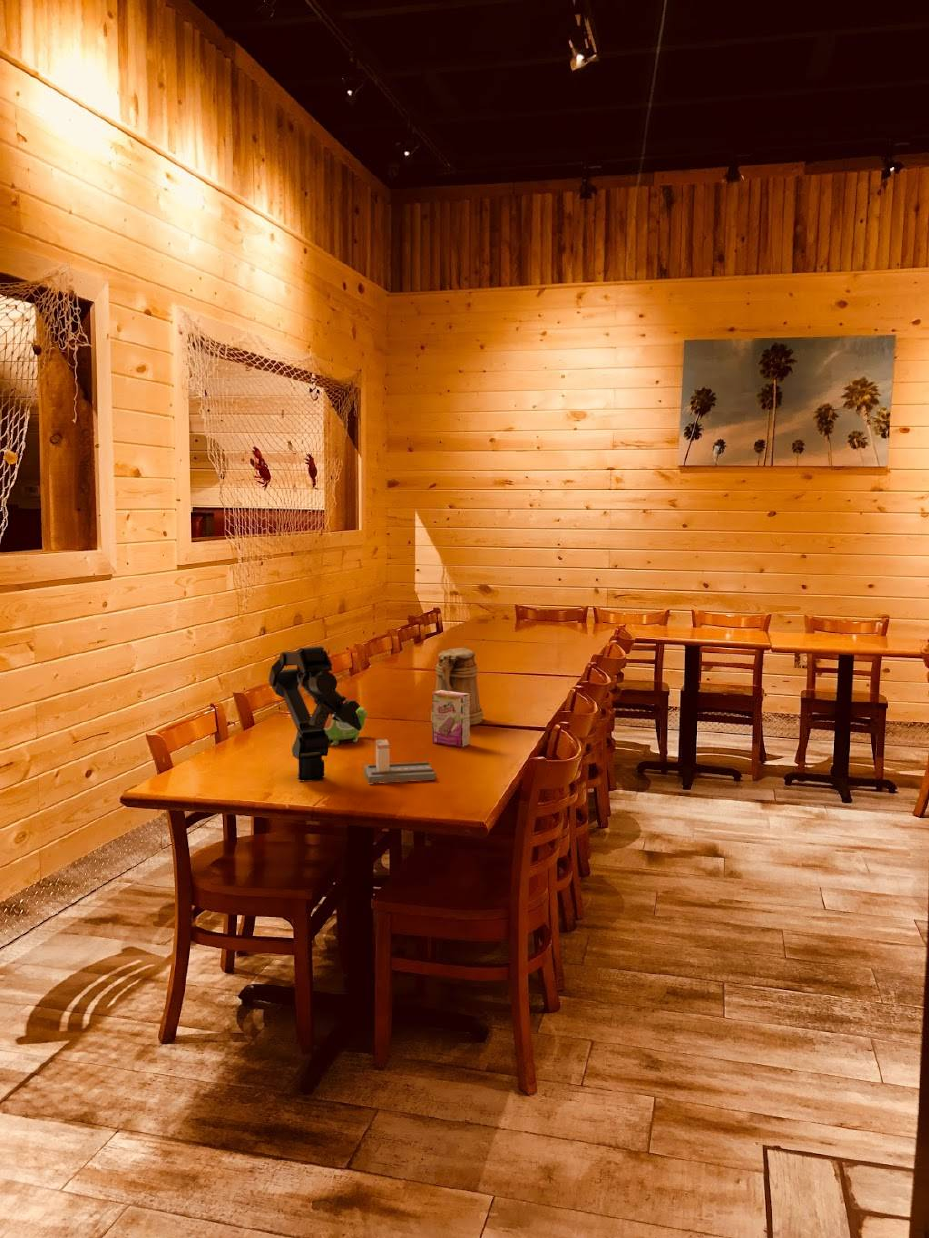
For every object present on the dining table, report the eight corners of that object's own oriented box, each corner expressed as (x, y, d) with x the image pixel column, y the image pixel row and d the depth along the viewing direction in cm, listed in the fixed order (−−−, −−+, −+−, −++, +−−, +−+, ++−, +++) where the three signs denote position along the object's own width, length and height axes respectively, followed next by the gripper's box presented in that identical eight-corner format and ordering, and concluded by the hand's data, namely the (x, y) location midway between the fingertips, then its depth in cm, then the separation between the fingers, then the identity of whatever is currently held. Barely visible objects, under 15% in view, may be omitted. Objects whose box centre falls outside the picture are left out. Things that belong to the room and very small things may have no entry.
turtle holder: (378, 738, 313) (378, 702, 311) (332, 748, 301) (331, 710, 299) (355, 732, 322) (355, 696, 320) (309, 741, 309) (308, 704, 308)
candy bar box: (431, 743, 306) (431, 692, 304) (440, 740, 311) (440, 689, 309) (462, 748, 301) (462, 695, 299) (470, 744, 305) (470, 692, 303)
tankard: (488, 717, 344) (488, 647, 342) (472, 732, 322) (472, 657, 319) (438, 714, 349) (438, 645, 346) (420, 729, 326) (419, 655, 323)
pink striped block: (378, 772, 265) (378, 745, 264) (375, 766, 271) (375, 739, 270) (389, 771, 266) (389, 744, 265) (386, 765, 271) (386, 739, 271)
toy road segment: (368, 784, 262) (368, 774, 261) (364, 772, 273) (364, 763, 273) (434, 780, 265) (434, 771, 265) (427, 768, 277) (427, 759, 277)
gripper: (291, 709, 268) (329, 747, 273) (309, 715, 251) (351, 756, 256) (318, 679, 271) (356, 717, 276) (339, 684, 254) (379, 724, 259)
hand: (360, 729), depth 267 cm, fingers closed
